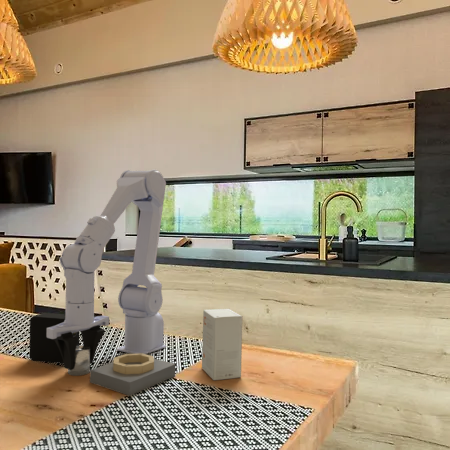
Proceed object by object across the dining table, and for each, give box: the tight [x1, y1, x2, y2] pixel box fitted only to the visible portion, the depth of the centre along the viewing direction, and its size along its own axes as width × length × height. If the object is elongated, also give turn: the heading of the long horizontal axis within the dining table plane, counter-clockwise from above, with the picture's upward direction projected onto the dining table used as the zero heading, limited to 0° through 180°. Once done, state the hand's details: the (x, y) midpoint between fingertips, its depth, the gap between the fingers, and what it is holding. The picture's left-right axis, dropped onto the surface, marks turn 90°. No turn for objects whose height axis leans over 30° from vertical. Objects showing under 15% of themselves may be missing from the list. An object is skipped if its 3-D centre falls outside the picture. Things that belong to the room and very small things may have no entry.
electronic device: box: [29, 312, 81, 365], centre depth 105 cm, size 4×10×10 cm, turn 78°
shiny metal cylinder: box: [67, 345, 91, 377], centre depth 97 cm, size 4×4×5 cm
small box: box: [201, 308, 243, 381], centre depth 99 cm, size 8×6×13 cm
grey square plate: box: [89, 353, 176, 396], centre depth 94 cm, size 13×11×4 cm
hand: (79, 365), depth 97 cm, fingers closed on shiny metal cylinder, 4 cm apart
